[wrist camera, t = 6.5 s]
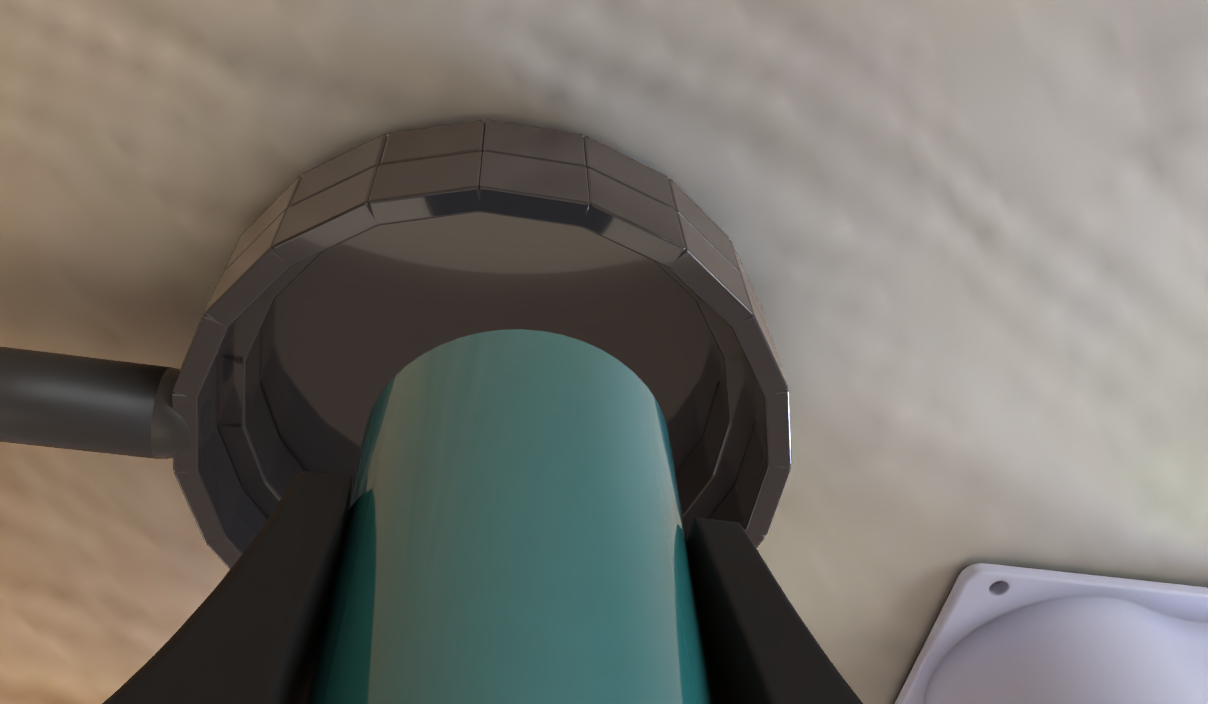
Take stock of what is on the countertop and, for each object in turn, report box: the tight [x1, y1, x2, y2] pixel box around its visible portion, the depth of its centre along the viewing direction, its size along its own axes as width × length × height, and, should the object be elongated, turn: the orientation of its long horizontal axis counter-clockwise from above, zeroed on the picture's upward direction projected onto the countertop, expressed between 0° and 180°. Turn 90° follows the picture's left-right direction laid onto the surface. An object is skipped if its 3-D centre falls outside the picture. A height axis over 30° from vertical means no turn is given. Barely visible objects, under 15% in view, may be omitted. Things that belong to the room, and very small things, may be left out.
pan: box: [171, 120, 792, 569], centre depth 24 cm, size 12×12×4 cm
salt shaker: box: [306, 329, 713, 704], centre depth 13 cm, size 4×4×8 cm
